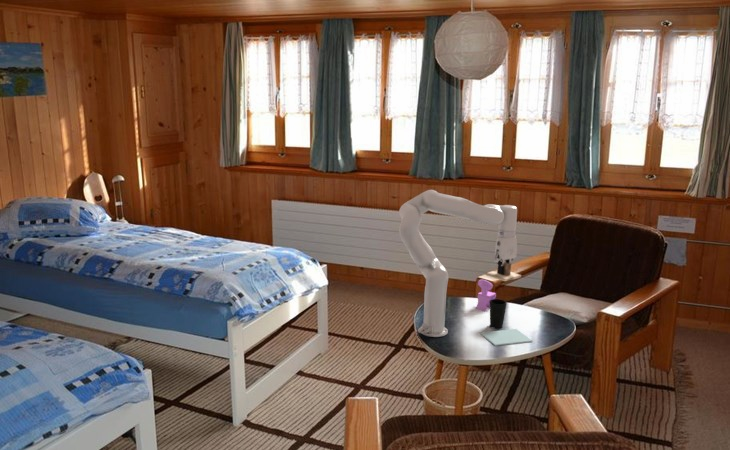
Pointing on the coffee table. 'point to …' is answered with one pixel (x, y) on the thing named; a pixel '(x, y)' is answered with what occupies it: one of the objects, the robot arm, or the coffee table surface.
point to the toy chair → (485, 295)
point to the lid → (507, 273)
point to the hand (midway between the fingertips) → (503, 273)
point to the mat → (505, 337)
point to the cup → (497, 313)
